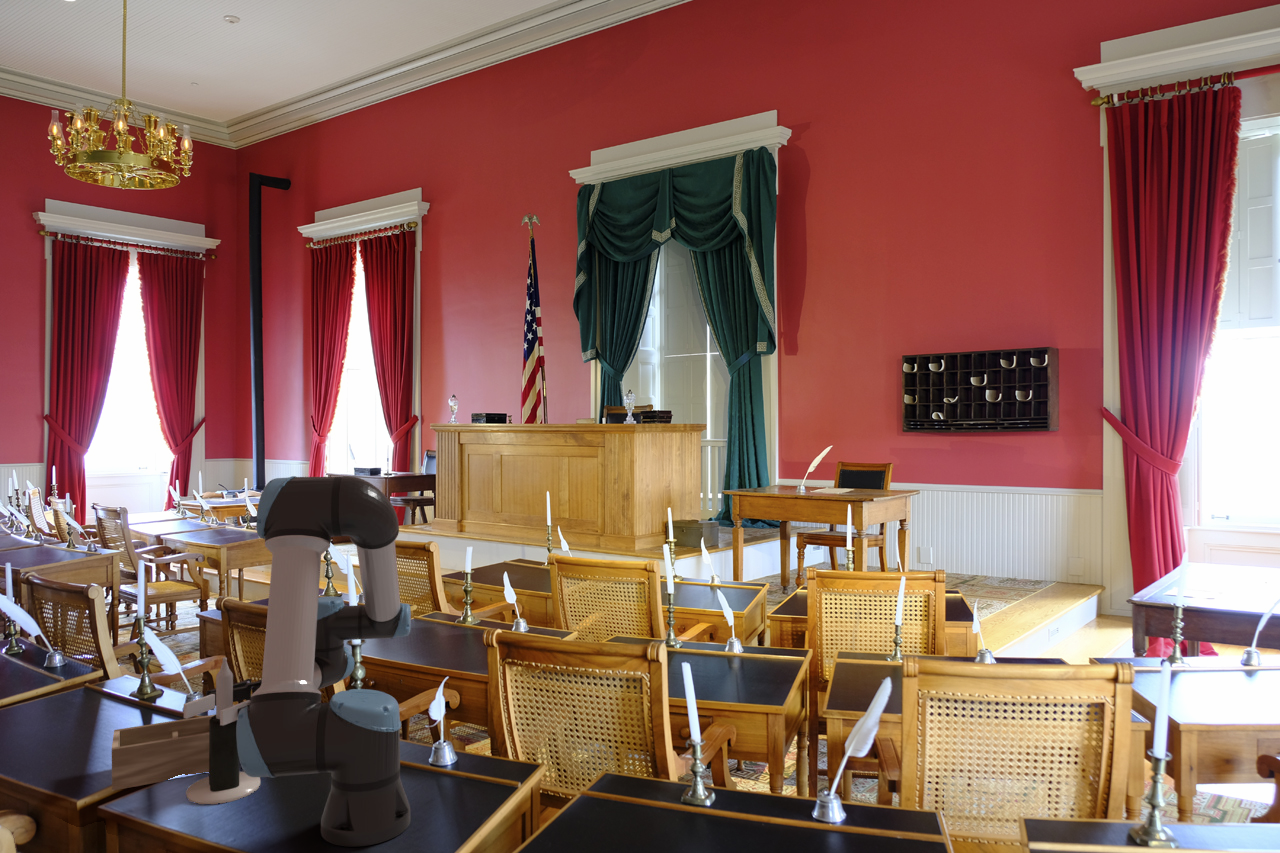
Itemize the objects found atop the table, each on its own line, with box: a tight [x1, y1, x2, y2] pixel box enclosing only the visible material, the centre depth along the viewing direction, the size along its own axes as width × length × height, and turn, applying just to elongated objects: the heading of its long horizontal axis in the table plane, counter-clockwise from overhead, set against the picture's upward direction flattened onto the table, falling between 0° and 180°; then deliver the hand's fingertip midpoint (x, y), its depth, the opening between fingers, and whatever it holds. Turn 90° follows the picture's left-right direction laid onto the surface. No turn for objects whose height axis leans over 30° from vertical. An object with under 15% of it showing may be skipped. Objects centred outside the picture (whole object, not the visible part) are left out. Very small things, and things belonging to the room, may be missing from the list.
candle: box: [208, 656, 240, 792], centre depth 168 cm, size 5×5×25 cm
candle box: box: [111, 713, 216, 792], centre depth 178 cm, size 12×22×8 cm, turn 119°
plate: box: [185, 771, 261, 805], centre depth 168 cm, size 13×13×1 cm
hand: (203, 714), depth 164 cm, fingers open, 9 cm apart
